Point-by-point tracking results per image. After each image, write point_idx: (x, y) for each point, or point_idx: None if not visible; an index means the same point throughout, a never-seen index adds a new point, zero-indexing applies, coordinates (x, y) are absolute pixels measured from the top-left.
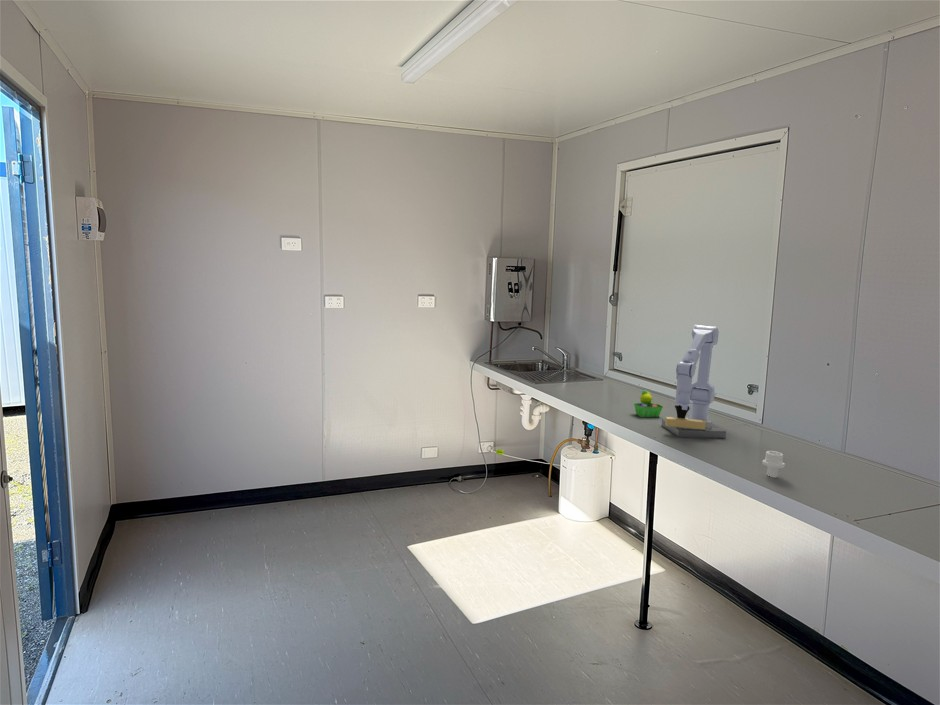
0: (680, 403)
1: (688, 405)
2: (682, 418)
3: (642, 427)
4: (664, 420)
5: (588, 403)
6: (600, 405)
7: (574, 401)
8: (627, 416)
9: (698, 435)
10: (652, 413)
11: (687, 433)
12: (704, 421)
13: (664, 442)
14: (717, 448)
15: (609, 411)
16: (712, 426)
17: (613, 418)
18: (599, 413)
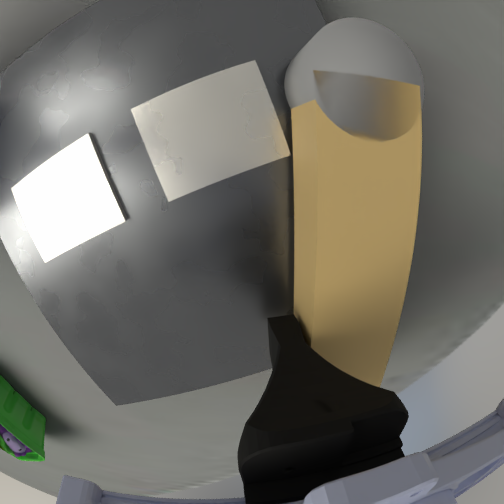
0: (460, 494)
1: (485, 440)
2: (321, 356)
3: (228, 435)
4: (150, 399)
5: (40, 479)
6: (31, 467)
7: (52, 492)
8: (81, 451)
9: None
10: (5, 395)
11: None
12: (384, 112)
13: (457, 335)
14: (499, 103)
15: (68, 471)
16: (142, 25)
17: (148, 480)
18: (116, 490)
